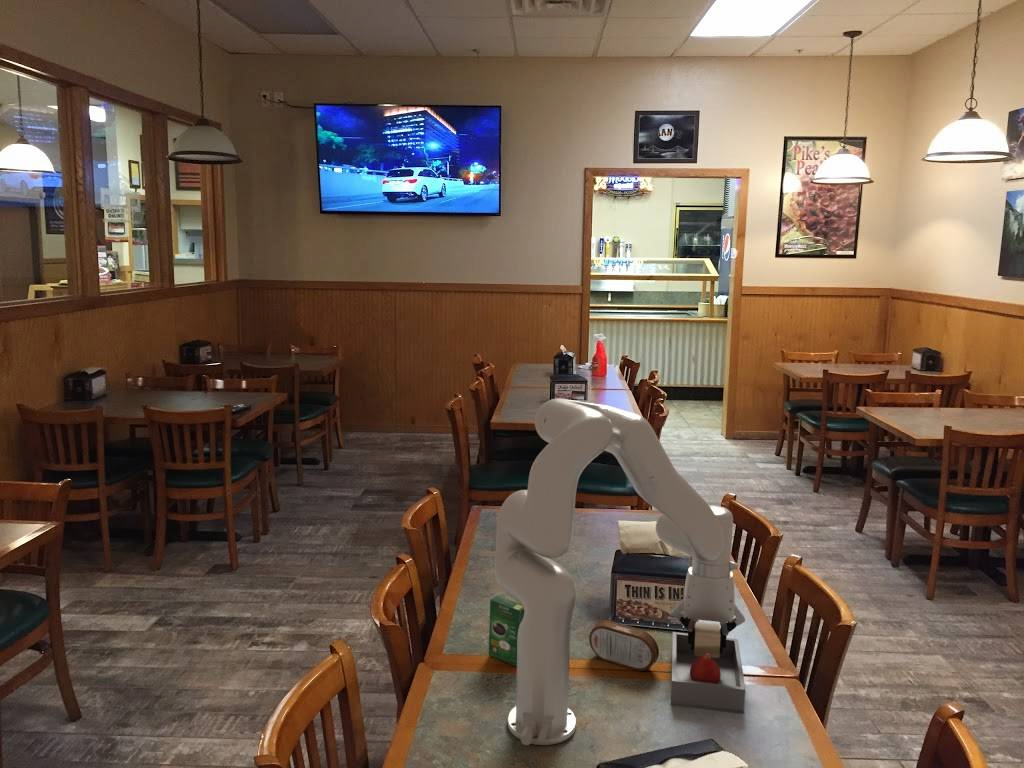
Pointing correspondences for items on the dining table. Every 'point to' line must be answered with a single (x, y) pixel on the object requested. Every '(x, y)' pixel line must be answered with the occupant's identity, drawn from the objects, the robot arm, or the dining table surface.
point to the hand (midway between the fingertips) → (706, 647)
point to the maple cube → (707, 639)
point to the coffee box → (504, 629)
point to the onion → (705, 670)
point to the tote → (702, 694)
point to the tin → (623, 645)
